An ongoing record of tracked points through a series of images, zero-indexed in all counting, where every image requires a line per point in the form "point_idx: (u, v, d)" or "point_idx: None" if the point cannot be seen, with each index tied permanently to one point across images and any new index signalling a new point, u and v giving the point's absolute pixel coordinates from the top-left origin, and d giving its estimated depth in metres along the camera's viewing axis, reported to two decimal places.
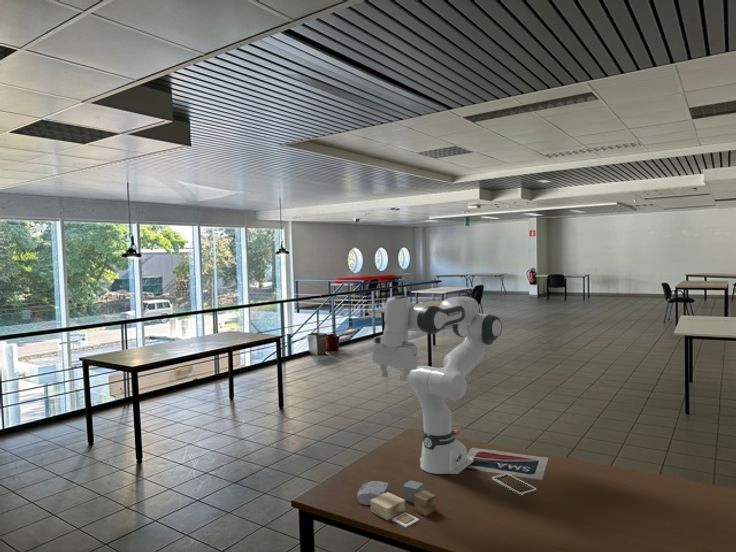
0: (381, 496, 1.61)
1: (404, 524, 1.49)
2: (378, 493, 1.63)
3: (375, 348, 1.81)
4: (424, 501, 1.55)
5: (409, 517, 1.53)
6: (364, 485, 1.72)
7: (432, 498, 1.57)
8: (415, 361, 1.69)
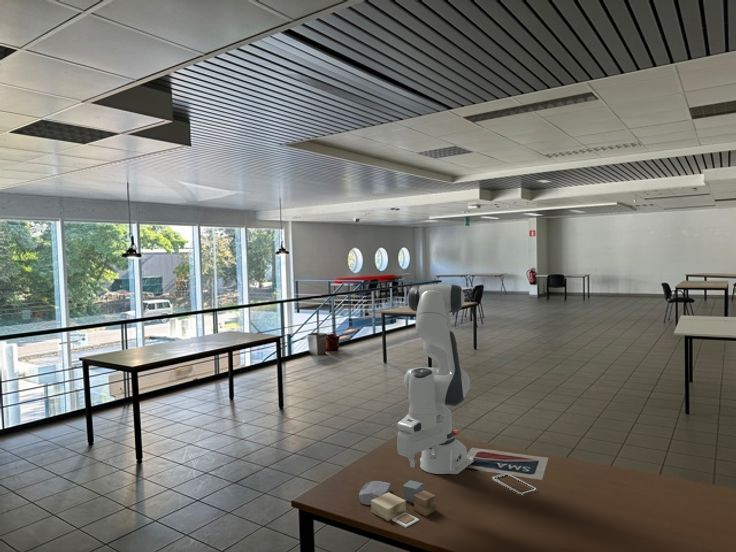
0: (382, 496, 1.60)
1: (404, 524, 1.49)
2: (380, 493, 1.63)
3: (410, 439, 1.51)
4: (424, 501, 1.55)
5: (409, 517, 1.53)
6: (366, 485, 1.72)
7: (432, 498, 1.57)
8: None
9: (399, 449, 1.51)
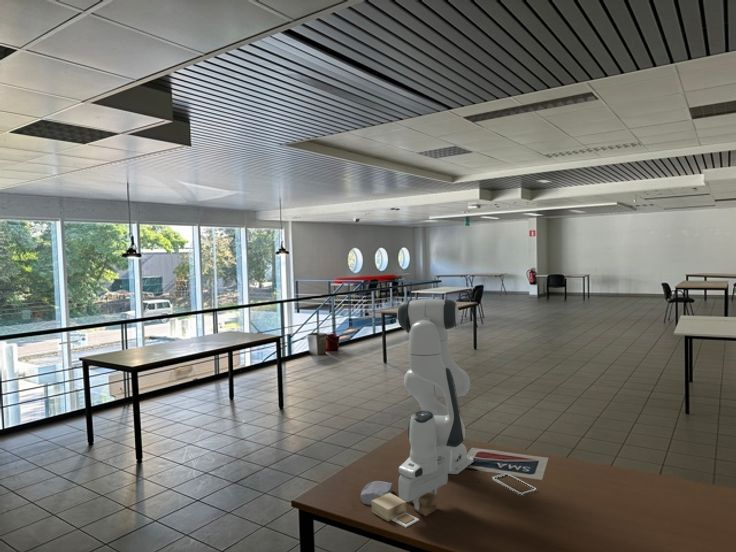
0: (383, 497, 1.60)
1: (404, 524, 1.49)
2: (381, 493, 1.63)
3: (411, 484, 1.51)
4: (424, 501, 1.55)
5: (409, 517, 1.53)
6: (368, 485, 1.72)
7: (432, 498, 1.57)
8: None
9: (400, 494, 1.52)
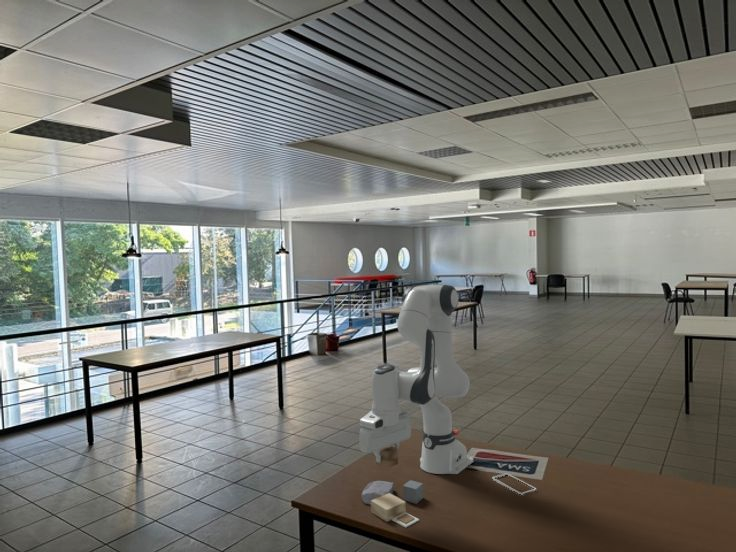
0: (382, 497, 1.60)
1: (404, 524, 1.49)
2: (382, 493, 1.63)
3: (372, 435, 1.51)
4: (385, 453, 1.55)
5: (409, 517, 1.53)
6: (369, 485, 1.72)
7: (394, 451, 1.56)
8: None
9: (361, 445, 1.52)
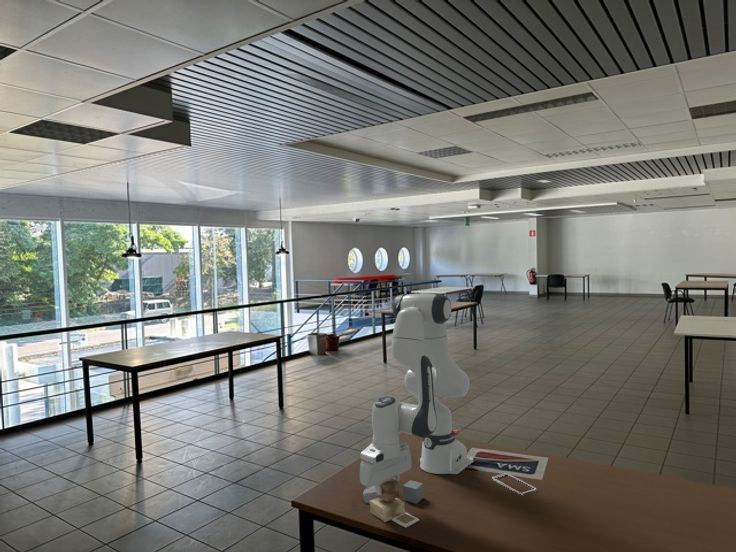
0: None
1: (404, 524, 1.49)
2: None
3: (372, 469, 1.51)
4: (386, 487, 1.55)
5: (409, 517, 1.53)
6: None
7: (394, 484, 1.57)
8: None
9: (361, 479, 1.52)
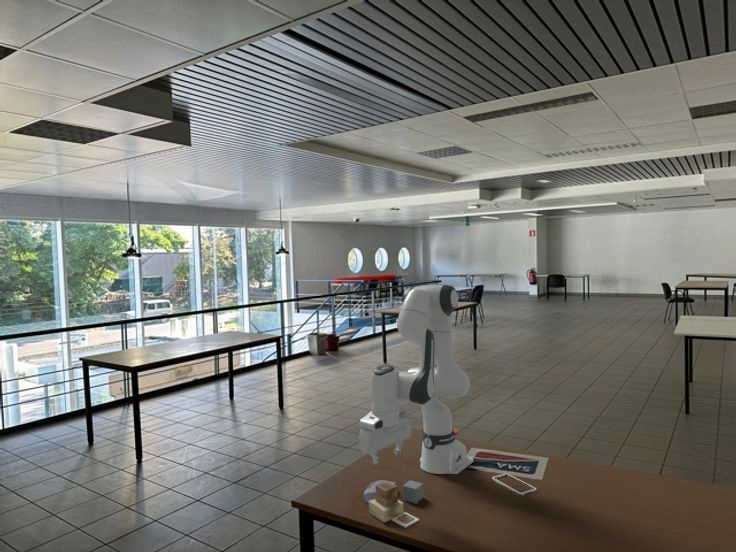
0: None
1: (404, 524, 1.49)
2: None
3: (372, 436, 1.51)
4: (385, 492, 1.54)
5: (409, 517, 1.53)
6: (371, 484, 1.73)
7: (394, 489, 1.56)
8: None
9: (361, 446, 1.52)
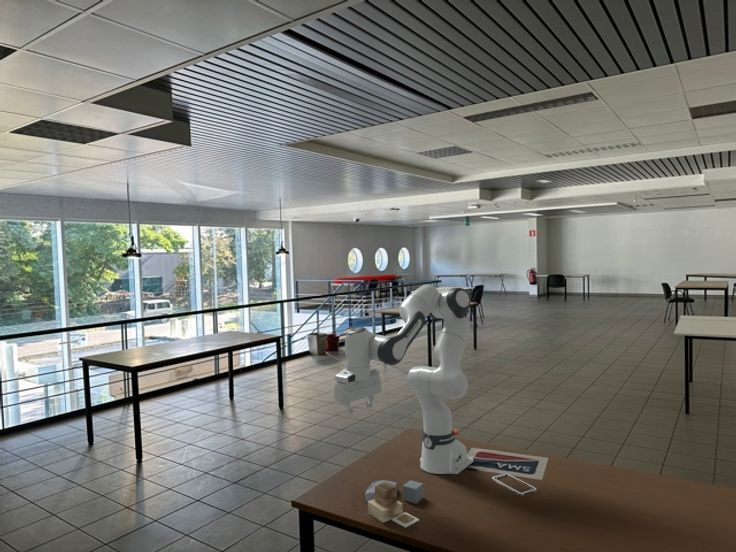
0: None
1: (404, 524, 1.49)
2: None
3: (345, 388, 1.70)
4: (384, 492, 1.54)
5: (409, 517, 1.53)
6: (373, 484, 1.73)
7: (393, 489, 1.56)
8: None
9: (336, 398, 1.71)
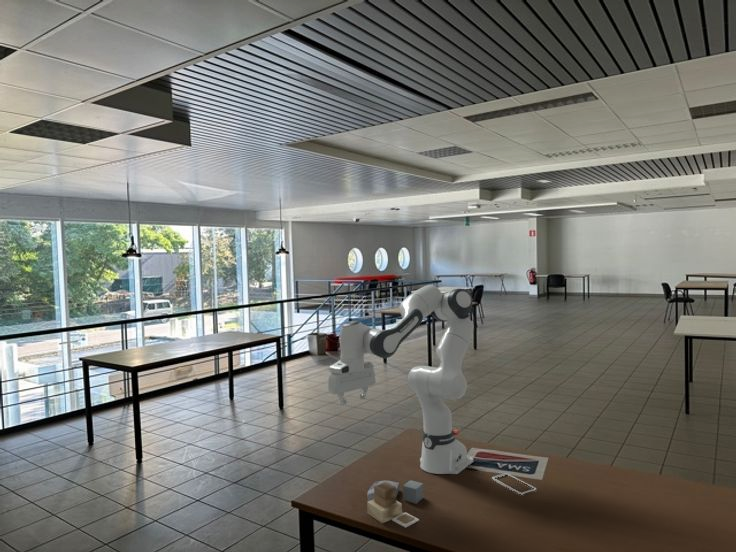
0: None
1: (404, 524, 1.49)
2: None
3: (339, 379, 1.75)
4: (383, 492, 1.54)
5: (409, 517, 1.53)
6: (375, 484, 1.72)
7: (392, 490, 1.55)
8: None
9: (330, 388, 1.76)
